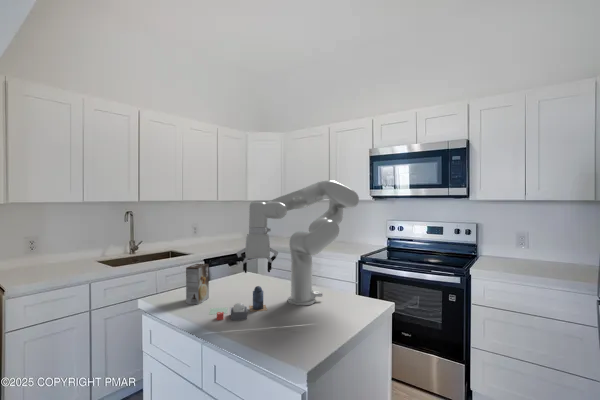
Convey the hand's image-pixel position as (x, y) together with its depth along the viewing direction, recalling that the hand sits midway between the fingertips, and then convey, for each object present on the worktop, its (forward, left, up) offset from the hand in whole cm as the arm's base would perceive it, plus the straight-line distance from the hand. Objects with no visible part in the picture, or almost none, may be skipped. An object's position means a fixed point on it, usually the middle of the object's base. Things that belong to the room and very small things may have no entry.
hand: (257, 272), depth 127 cm
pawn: (0, 0, -15) cm, 15 cm away
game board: (+8, +4, -16) cm, 18 cm away
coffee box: (+26, -16, -16) cm, 34 cm away
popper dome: (+8, +8, -16) cm, 19 cm away
